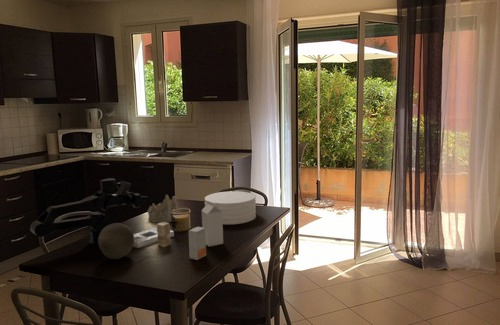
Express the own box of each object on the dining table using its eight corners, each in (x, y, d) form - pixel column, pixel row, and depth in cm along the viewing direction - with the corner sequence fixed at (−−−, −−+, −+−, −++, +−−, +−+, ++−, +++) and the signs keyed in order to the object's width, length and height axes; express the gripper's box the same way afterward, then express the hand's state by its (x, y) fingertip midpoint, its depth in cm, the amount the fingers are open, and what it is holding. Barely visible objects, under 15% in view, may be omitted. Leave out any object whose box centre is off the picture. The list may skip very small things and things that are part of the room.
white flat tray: (137, 248, 175) (137, 242, 174) (123, 242, 183) (122, 237, 182) (174, 236, 189) (173, 231, 189) (159, 231, 197) (159, 226, 197)
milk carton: (208, 247, 174) (206, 205, 171) (202, 242, 180) (200, 201, 177) (223, 244, 177) (221, 202, 174) (217, 239, 183) (215, 199, 181)
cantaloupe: (97, 257, 166) (94, 222, 164) (131, 250, 173) (128, 217, 171) (102, 268, 154) (99, 231, 152) (139, 260, 161) (136, 225, 158)
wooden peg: (163, 247, 175) (162, 225, 174) (158, 245, 178) (156, 223, 177) (170, 244, 178) (169, 223, 177) (165, 242, 181) (164, 221, 179)
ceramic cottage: (185, 216, 223) (182, 190, 221) (165, 225, 209) (162, 197, 207) (165, 214, 231) (162, 189, 229) (144, 223, 217) (141, 196, 215)
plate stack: (227, 207, 239) (226, 189, 237) (265, 214, 223) (265, 194, 221) (195, 219, 217) (194, 199, 215) (235, 227, 200) (234, 205, 199)
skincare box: (197, 260, 159) (196, 231, 158) (189, 258, 162) (187, 230, 160) (206, 255, 164) (205, 227, 163) (198, 253, 167) (197, 226, 165)
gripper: (124, 186, 181) (154, 183, 192) (106, 180, 194) (134, 177, 205) (124, 210, 182) (154, 205, 193) (106, 202, 195) (134, 198, 206)
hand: (144, 196), depth 199 cm, fingers open, 9 cm apart
